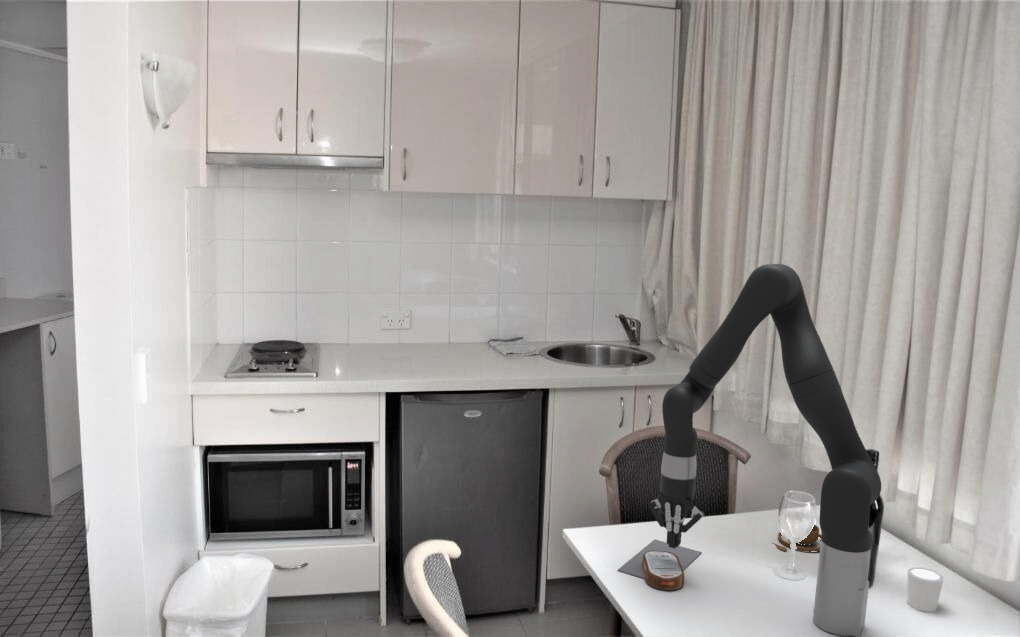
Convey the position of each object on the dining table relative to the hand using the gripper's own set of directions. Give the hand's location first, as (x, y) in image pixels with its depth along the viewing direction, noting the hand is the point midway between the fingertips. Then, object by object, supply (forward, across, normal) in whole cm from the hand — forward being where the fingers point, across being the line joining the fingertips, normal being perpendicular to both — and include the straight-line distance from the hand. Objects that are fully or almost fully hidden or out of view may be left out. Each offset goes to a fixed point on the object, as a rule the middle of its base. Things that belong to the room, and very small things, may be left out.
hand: (673, 546), depth 186 cm
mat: (+6, +4, -4) cm, 8 cm away
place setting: (+7, -24, -33) cm, 41 cm away
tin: (+4, -3, +1) cm, 5 cm away
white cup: (+6, -49, -18) cm, 53 cm away
